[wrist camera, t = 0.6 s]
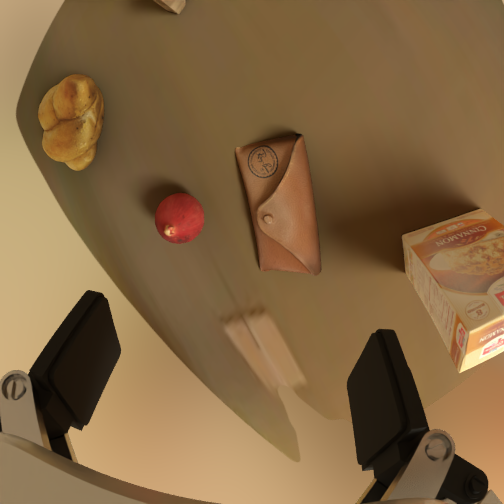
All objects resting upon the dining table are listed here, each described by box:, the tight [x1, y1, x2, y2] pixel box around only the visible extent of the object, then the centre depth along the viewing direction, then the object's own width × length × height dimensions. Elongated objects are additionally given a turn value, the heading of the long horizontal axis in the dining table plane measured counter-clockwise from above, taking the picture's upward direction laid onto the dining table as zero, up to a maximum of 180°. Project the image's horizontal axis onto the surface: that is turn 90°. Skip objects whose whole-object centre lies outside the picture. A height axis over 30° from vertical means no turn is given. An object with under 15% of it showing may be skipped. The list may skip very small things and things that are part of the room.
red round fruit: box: [155, 193, 204, 244], centre depth 33 cm, size 6×6×8 cm
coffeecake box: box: [402, 209, 504, 373], centre depth 27 cm, size 15×7×20 cm, turn 111°
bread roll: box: [38, 74, 104, 171], centre depth 28 cm, size 13×10×8 cm
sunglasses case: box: [235, 133, 321, 276], centre depth 35 cm, size 18×7×7 cm
